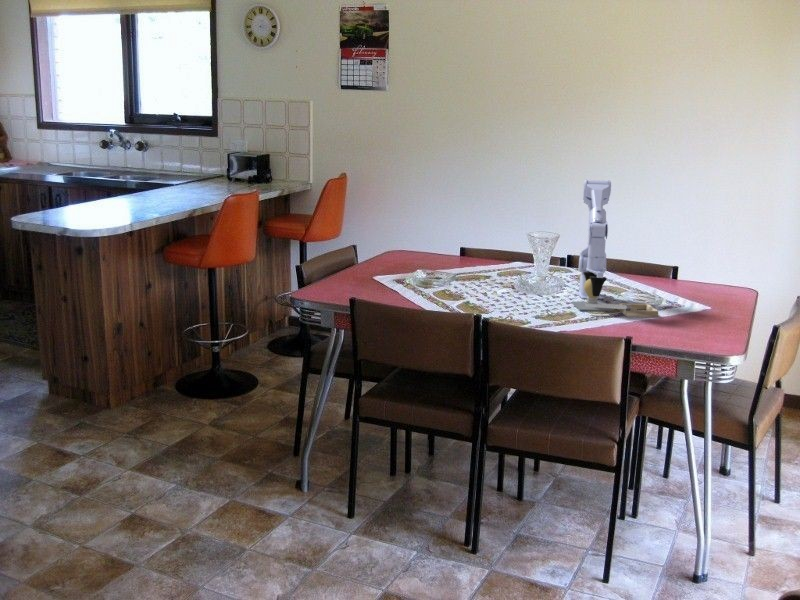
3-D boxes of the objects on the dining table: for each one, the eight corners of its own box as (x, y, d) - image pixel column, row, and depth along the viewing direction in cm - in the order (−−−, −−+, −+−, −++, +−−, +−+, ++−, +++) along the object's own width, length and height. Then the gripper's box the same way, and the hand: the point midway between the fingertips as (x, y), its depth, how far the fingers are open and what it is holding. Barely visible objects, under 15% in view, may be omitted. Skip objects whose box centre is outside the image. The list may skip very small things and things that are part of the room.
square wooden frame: (617, 308, 303) (617, 303, 302) (647, 309, 303) (648, 303, 303) (626, 316, 292) (627, 310, 291) (657, 316, 292) (658, 311, 292)
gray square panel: (571, 302, 310) (571, 301, 310) (604, 303, 311) (604, 302, 311) (579, 310, 299) (579, 309, 298) (613, 311, 299) (613, 309, 299)
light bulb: (604, 306, 303) (606, 279, 301) (590, 308, 300) (592, 280, 298) (592, 302, 309) (594, 276, 306) (579, 304, 306) (581, 277, 304)
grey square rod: (585, 307, 293) (585, 302, 293) (585, 306, 295) (585, 301, 294) (631, 310, 291) (631, 305, 290) (630, 309, 293) (630, 304, 292)
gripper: (612, 260, 294) (609, 298, 297) (601, 253, 308) (598, 289, 311) (592, 260, 293) (589, 298, 296) (582, 252, 307) (579, 289, 310)
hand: (593, 293), depth 304 cm, fingers open, 7 cm apart
